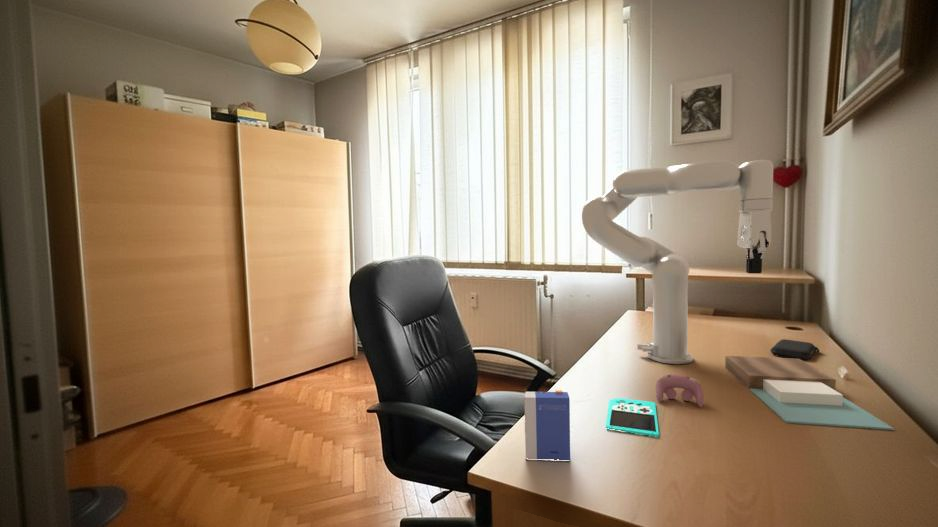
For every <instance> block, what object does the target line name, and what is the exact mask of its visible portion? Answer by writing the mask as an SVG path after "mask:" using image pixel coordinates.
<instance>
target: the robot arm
mask: <svg viewBox="0 0 938 527" xmlns="http://www.w3.org/2000/svg"><path fill="white" fill-rule="evenodd" d="M773 187H774V163H773V162H772V161H771V160H768V159H759V160H758V159H757V160H751V161H750V160H749V161H746V162H743V163H742V164H737V163H736V162H733V161H731V160H712V161H703V162H691V163H685V164H675V165H667V166H657V167H649V168H636V169H635V168H634V169H633V168H632V169H626V170H623V171H622V170H621V171H620V172H618V173H617V174H616V175H614V178H613V180H612V187H611V188H610V189H609V190H608V191H607V192H606V193H605V194H604V195H602V196H594V197H591V198H590V199H588V200H586V202H585V203H584V205H583V208H582V211H581V220H582V221H581V222H582V225H583V228H584V230H585V232H586V233H587V235H588V236H589V237H590V238H591V239H592V240H593V241H595V243H597V244H598V245H600V246H601V247H602V248H605V249H606V250H607V251H609V252H610V253H612V254H613V255H615V256H617V257H618V258H619V259H622V260H623V261H624V262H625V263H627V264H628V265H630V266H632V267H634V268H642V269H644V270H645V271H647V272H649V273H651V274H652V276H651V279H652V280H651V281H652V282H651V284H652V340H650V343H647V344H643V343H637V344H636V350H637V351H642V352H644V353H645V352H647V357H648V358H649V359H650V360H652V361H655V362H659V363H663V364H671V365H685V364H690V363H692V362H693V361H694V356H693V355H692V354H691V353H689V352H688V326H689V325H688V321H689V318H688V317H689V316H688V312H689V308H688V305H689V303H688V302H689V301H688V297H689V294H688V292H689V291H688V290H689V289H688V288H689V287H688V285H689V284H688V282H689V273H690V265H689V263H688V261H687V260H686V259H685V258H684V257H683V256H681V255H680V254H678V253H676V252H674V251H673V250H671V249H669V248H667V247H666V246H664V245H663V244H661V243H660V242H657V241H655V240H654V239H652V238H650V237H646V236H638V235H637V234H635V233H634V232H632V231H630V230H628V229H626V228H625V227H623V226H621V225H619V224H618V223H616V222H614V219H616V218H617V217H618V216H619V215H620V214H622V213H623V211H625V210H626V209H627V208H628V207H629V206H630V205H631V204H633V202H635V200H636V199H638V198H639V197H640V198H641V197H654V196H655V197H656V196H657V197H658V196H671V195H675V194H678V193H683V192H687V191H689V192H690V191H701V190H715V191H720V192H725V191H730V190H737V189H738V190H739V191H738V192H739V196H738V200H739V201H738V202H739V203H738V213H739V219H738V224H737V225H738V227H737V239H736V245H737V246H738V248H743V250H744V252H745V258H746V260H745V262H746V264H745V266H746V267H745V271H746V274H762V273H763V272H762V270H763V269H762V268H763V258H764V253H766V251H767V248H769V247H770V246H771V242H772V222H771V221H772V220H771V212H773V198H774V197H773V194H774V191H773V190H774V188H773Z"/></svg>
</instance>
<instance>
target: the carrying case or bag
mask: <svg viewBox="0 0 938 527" xmlns="http://www.w3.org/2000/svg"><path fill="white" fill-rule="evenodd" d="M816 352H817V353H820V349H819V347H817V346H815V345H814V344H813V343H811V342H806V341H800V340H793V339H787V338H786V339H785V338H783V339H781V340H779V341H778V342H777V343H776V344H775V345H773V346H772V348H770V353H771V354H774V355H773V356H775V355H778V356H777V357H781V356H782V357H781V358H795V359H800V360H802V361H807V360H808V359H811V358H812V356H813V355H814V354H815V353H816Z"/></svg>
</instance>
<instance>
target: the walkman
mask: <svg viewBox="0 0 938 527" xmlns="http://www.w3.org/2000/svg"><path fill="white" fill-rule="evenodd" d="M570 402H571V401H570V395H569V392H568V391H563V390H558V389H557V390H555V391H525V394H524V396H523V414H524V438H525V441H524V442H525V459H526V458H528V459H554V460H557V459H559V460H570V461H571V426H570V425H571V423H570V422H571V420H570V417H571V416H570V415H571V412H570V411H571V410H570V407H571V406H570V405H571V404H570Z"/></svg>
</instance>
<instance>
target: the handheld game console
mask: <svg viewBox="0 0 938 527" xmlns="http://www.w3.org/2000/svg"><path fill="white" fill-rule="evenodd" d="M657 416H658V415H657V408H656V402H654V401H650V400H649V401H647V400H641V399H640V400H639V399H630V398H622V397H621V398H611V399H609V402H608V409H607V416H606V417H607V418H606V423H605V424H606V425H605V429H606V428H609V429H615V430H621V431H626V432H630V434H633V433H637V434H644V435H646V436H648V435H650V436H656V437H655V438H659V437H658V436H660V432H659V424H658V417H657ZM650 436H649V437H650Z"/></svg>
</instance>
